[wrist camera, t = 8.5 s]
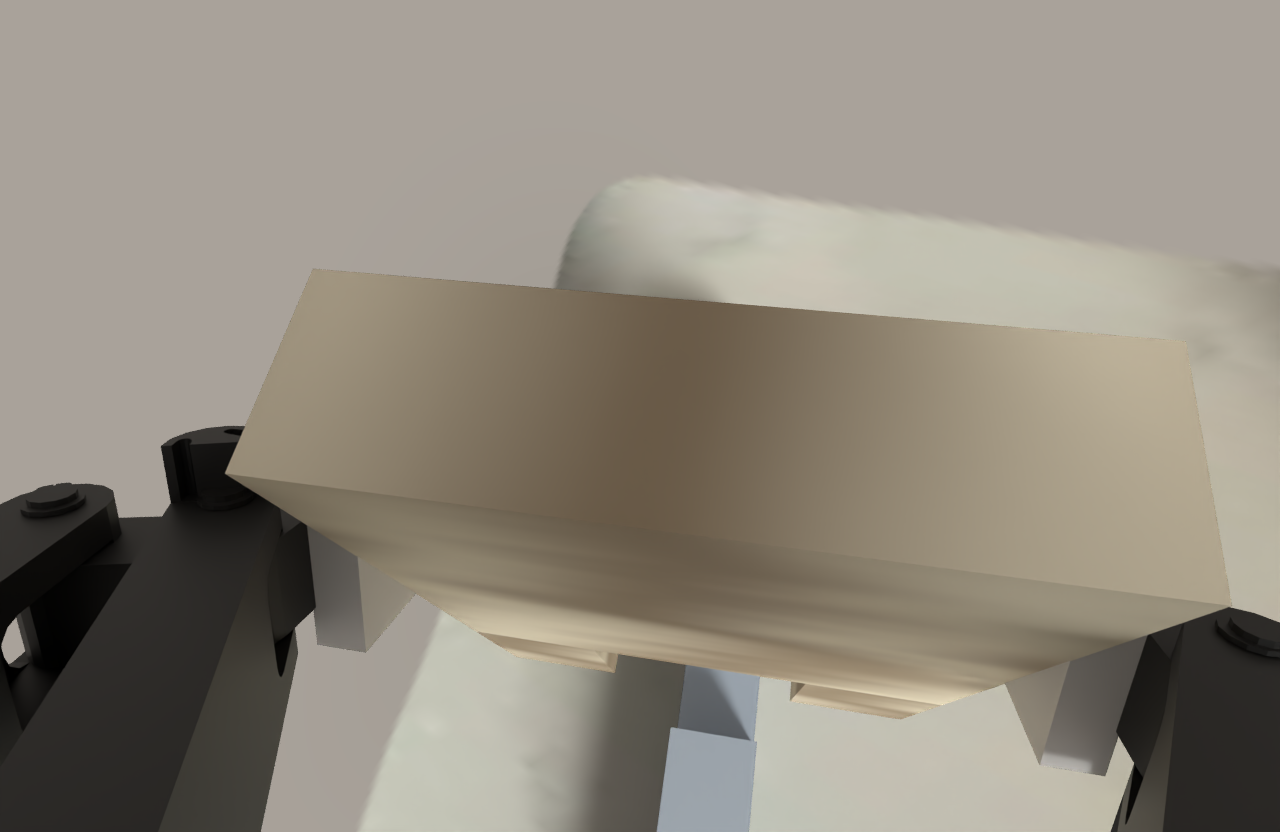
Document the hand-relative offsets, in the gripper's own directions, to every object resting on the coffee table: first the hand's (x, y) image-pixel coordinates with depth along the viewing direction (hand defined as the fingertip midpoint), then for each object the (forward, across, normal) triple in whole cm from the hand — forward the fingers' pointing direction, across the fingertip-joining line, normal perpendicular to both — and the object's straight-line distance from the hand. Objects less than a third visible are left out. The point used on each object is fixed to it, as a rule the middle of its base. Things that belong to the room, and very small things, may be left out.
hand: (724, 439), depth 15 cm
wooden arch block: (+1, 0, -5) cm, 5 cm away
